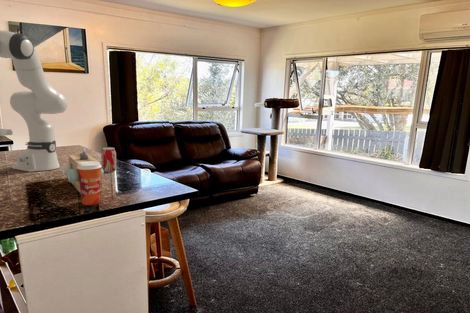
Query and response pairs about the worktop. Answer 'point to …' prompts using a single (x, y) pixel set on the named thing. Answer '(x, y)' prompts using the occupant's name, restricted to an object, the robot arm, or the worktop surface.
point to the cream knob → (66, 168)
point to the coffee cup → (89, 182)
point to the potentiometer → (83, 155)
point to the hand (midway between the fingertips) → (12, 132)
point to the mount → (74, 162)
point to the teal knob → (75, 175)
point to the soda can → (108, 159)
